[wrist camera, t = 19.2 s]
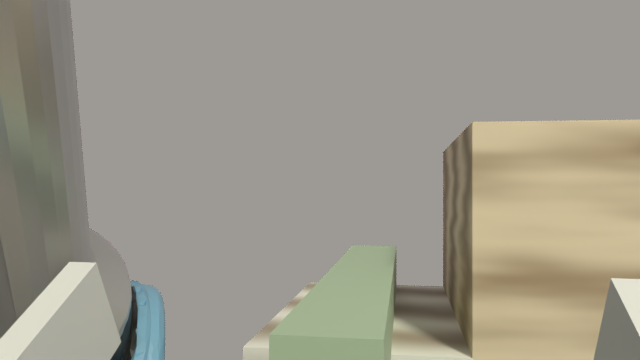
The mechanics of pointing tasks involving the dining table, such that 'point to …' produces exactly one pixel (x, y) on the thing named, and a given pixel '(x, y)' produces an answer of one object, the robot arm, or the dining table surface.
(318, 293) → the green block
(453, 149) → the stand
